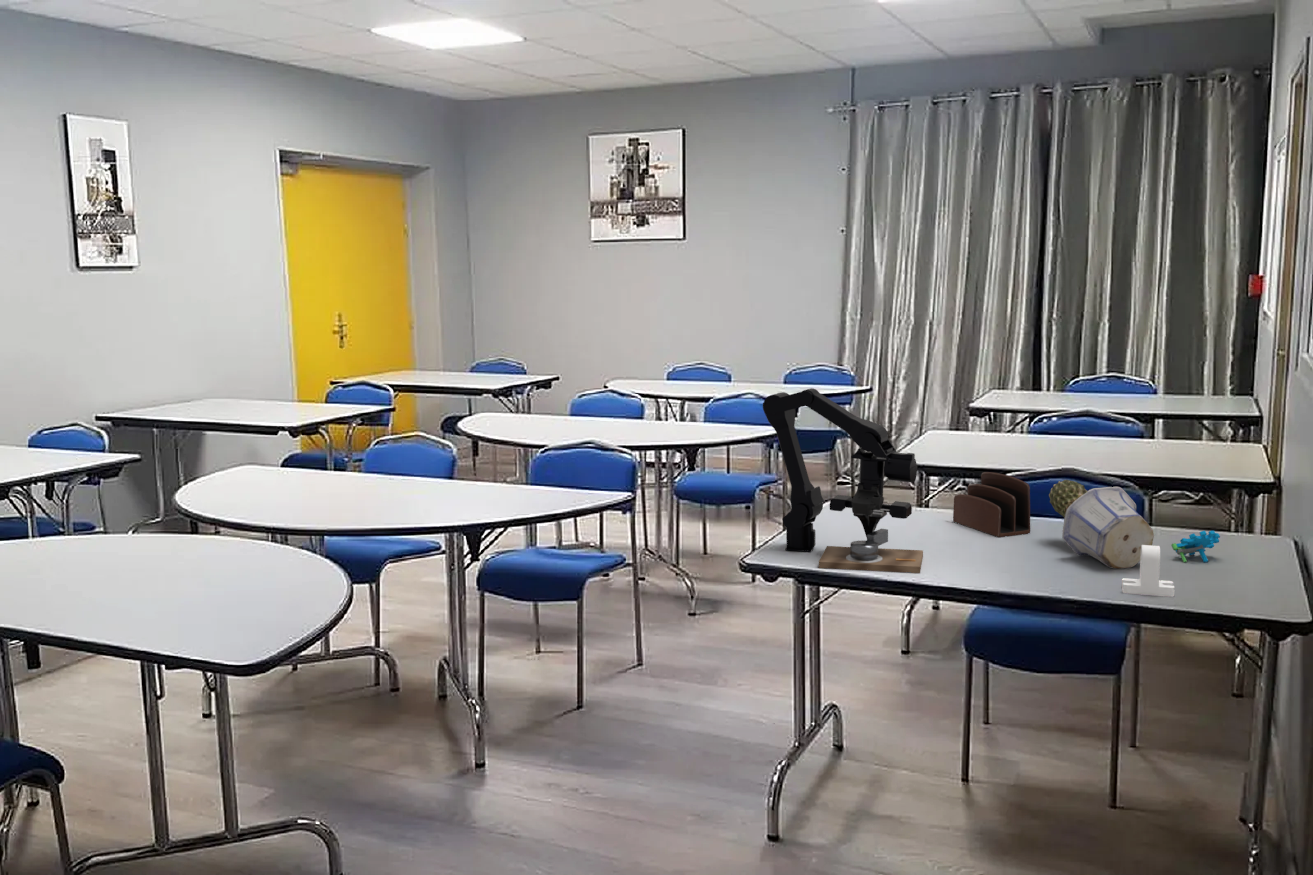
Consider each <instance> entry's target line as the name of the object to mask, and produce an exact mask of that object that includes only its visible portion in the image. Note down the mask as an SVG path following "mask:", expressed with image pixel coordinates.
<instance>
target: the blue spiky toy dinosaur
mask: <svg viewBox="0 0 1313 875" xmlns="http://www.w3.org/2000/svg"><path fill="white" fill-rule="evenodd" d="M1188 537H1189V538H1185V537H1182V538H1181V539H1180V540H1179V541H1180V542H1179V543H1172V544H1170V545H1171V547H1172V549H1173V551H1175V553H1177V556H1180V557H1181V559H1182V562H1183V563H1187V562H1188V560H1187V558H1186V557H1185V556H1186V555H1187V554H1188V555H1189V556H1193V555H1196V553H1199V555H1200V557H1201V559H1202V562H1203V563H1208V562H1209V559H1208V557H1207V555H1206V553H1205V552H1206V549H1213V548H1214V547H1215V544H1218V543H1220V540H1219V538H1221V536H1220V534H1219V533H1218V532H1216V531H1215V530H1209V531H1208V534H1207V532H1206V530H1202V531H1199V535H1196V533H1193V532H1192V533H1190V535H1188Z"/></svg>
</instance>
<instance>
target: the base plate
mask: <svg viewBox="0 0 1313 875" xmlns="http://www.w3.org/2000/svg"><path fill="white" fill-rule="evenodd" d="M923 558H924V549H901V548H899V549H898V548H880V547H878V558H876V559H872V560H859V559H854V558H852V557H851V556H850V546H836V545H833V546H832V545H826V547H825V549H824V550H823V552H822V554H821V556H820V558H819V560H818V568H819V569H829V570H830V569H832V570H847V571H848V570H849V571H850V570H852V571H853V570H854V571H871V572H874V571H875V572H891V573H893V572H894V573H906V572H911V573H910V574H920V573H921V570H922V565H923V560H924V559H923Z"/></svg>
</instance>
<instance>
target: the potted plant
mask: <svg viewBox="0 0 1313 875" xmlns="http://www.w3.org/2000/svg"><path fill="white" fill-rule="evenodd" d="M1085 487H1086V486H1085V485H1084V484H1081V483H1079V482H1078V481H1074V480H1070V479H1063V480H1062V481H1060V480H1059V481H1058V482H1057V483H1055V484H1053V486H1052V487H1051V489H1050V491H1049V494H1048V497H1049V499H1050V500H1049V503H1050V504H1051V506H1052V508H1053V509H1054V512H1056V513H1058V514H1059V515H1060V516H1062V517H1063V518H1064V519H1063V526H1062V539H1063V541H1065V543H1066V545H1068V546H1069V547H1070V549H1071V550H1072V551H1073V552H1074V553H1075V554H1076V555H1077V556H1079V557H1080V556H1091V557H1092V558H1094V559H1096V560H1098V561H1100V563H1102V564H1104V565H1105V566H1107V567H1108V568H1111V569H1117V570H1119V569H1127V568H1133V567H1135V566H1136V565H1137V564H1138V563H1140V556H1141V545H1152V546H1153V542H1154V538H1155V535H1154V534H1155V533H1154V530H1153V528H1152V527H1151V526H1150V524H1149V523H1148V522H1147V521H1146V520H1145V519H1144V518H1143V516H1142V515H1140V514H1139V513H1138V512H1137V504H1136V503H1135V501H1134V500H1133V499H1132V498H1131V497H1130V495H1129V494H1128V493H1127V492H1126V491H1125V490H1124V489H1123V488H1122V487H1120V486H1113V487H1112V486H1107V487H1106V486H1105V487H1104V486H1103V487H1095V488H1090V489H1089V490H1087V489H1086V488H1085Z"/></svg>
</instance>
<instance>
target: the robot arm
mask: <svg viewBox="0 0 1313 875" xmlns="http://www.w3.org/2000/svg"><path fill="white" fill-rule="evenodd" d="M802 407H807V408H809V409H811V410H812V411H814V412H815V413H817V414H818V415H820V416H821V417H823V418H824V419H826V420H828V421H829V422H831V423H832V424H833V425H835V426H837V427H839V429H841V430H842V431H844V432H845V433H847V434H848V437H850V439H851V440H852V441H853V442H854V443H855V444H856V445H857V446H858V447H859V448H858V449H857V450H856V452H854V453H853V454H852V455H851V459H853V460H854V459H856V460H859V473H858V475H859V478H858V479H859V480H858V481H859V482H858V483H857V489H856V492H855V494H854V495H853V497H852V496H851V495H843V494H837V495H836V496H834V497H833V498H831V499H830V500H829V510H830V511H836V512H843V510H845V509H846V508H847V509H848V508H849V509H851V510H852V514H853V516H854V517H857V519H858V520H859V521H860V523H861V526H862V528H863V531H864V534H865V537H866V538H867V534H870V533H872V532H874V531H876V529H877V526H878V524H879V522H880V521H881V520H882V519H883V518H884V517H886V516H887V515H888V513H889V515H890V516H891V518H894V519H901V520H902V519H908V518H909V516H911V514H912V512H913V506H912V504H911V503H910V502H907V501H900V500H899V501H897V500H895V501H893V503H891V504H888V503H887V504H886V503H884V502H885V497H884V486H885V480H884V477H885V478H887V479H888V480H889V481H894V482H895V481H896V482H904V483H914V482H915V481H916V478H917V474H918V465H917V464H918V463H917V460H916V454H915V453H912V452H906V453H905V452H897V450H896V448H895V447H894V445H893V443H892V441H890V439H889V433H888V430H887V429H886V427H885V426H883V425H881V424H878V423H876V422H874V421H871V420H869V419H864V418H861V417H858V416H856V415H855V414H853V413H852V412H851V411H849V410H847V409H846V408H844V407H842V406H841V405H839V404H837V403H836V402H834V401H833V400H832V399H830V398H828V397H826V395H824V394H822V393H820V392H819V391H818V389H816V388H813V387H811V388H807V389H803V390H802V391H800V392H799V391H798V392H794V393H792V394H789V393H788V392H784V391H783V392H777V393H774V394H770V395H768V396H767V397H766V398H764V400H763V402H762V410H763V412H764V415H765V418H766V420H767V422H768V423H769V424H770V425H771V427H772V428H773V430H774V431H775V433H776V436H777V439H778V442H779V447H780V449H781V450H780V451H781V454H782V457H783V461H784V464H785V468H786V471H787V475H788V479H789V483H790V486H791V487H790V498H789V500H790V511H789V512H788V513H787V514H786V515H784V516H783V517H782V520H781V521H782V522H783V526H784V527H785V528H786V529H785V530H786V531H785V532H786V535H785V536H786V538H785V539H786V546H785V548H784V550H785V551H787V550H790V552H810V553H811V552H812V551H813V549H814V548H815V546H816V529H815V528H814V523H813V522H815V521H816V518H817V516H819V515H820V514H821V512H822V511H823V506H824V505H823V504H824V502H825V499H824V498H823V495H822V490H821V487H820V486H819V485H818V486H816V487H815V486H814V485H813V484H812V483H811V481H810V478H809V475H808V471H807V468H806V467H807V466H806V463H805V460H804V456H803V453H802V450H801V446H800V441H799V438H798V435H797V430H796V428H795V424H796V409H798V408H802Z"/></svg>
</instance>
